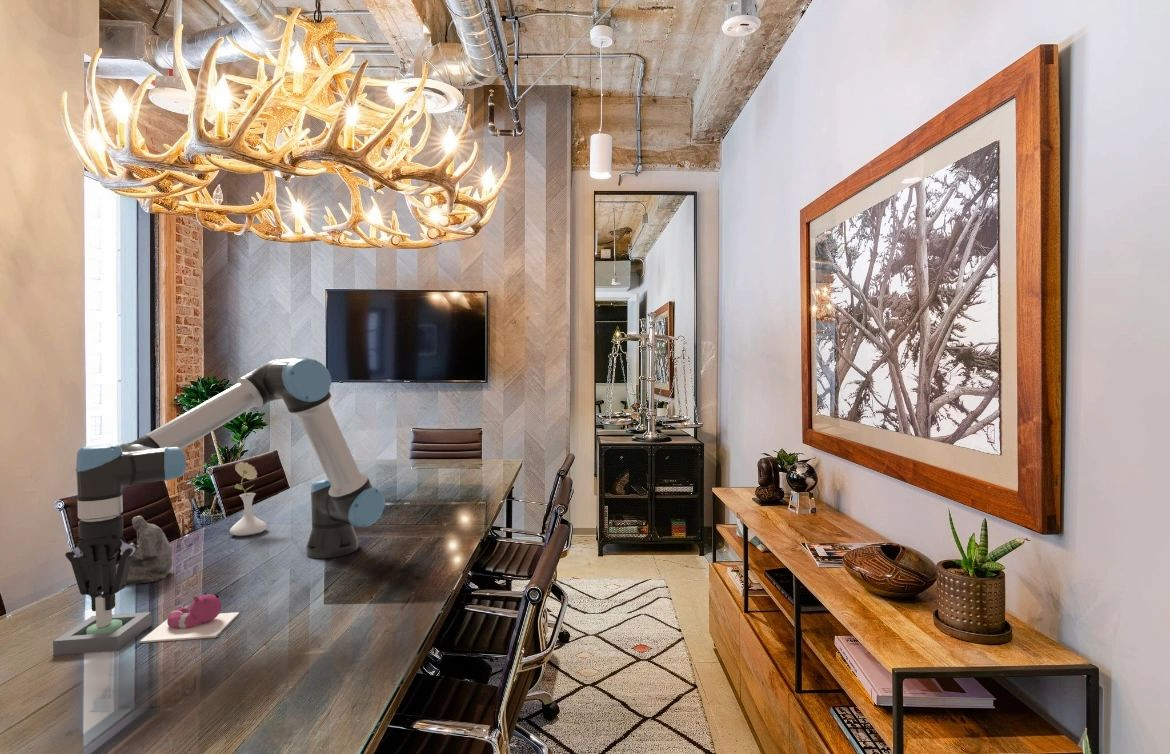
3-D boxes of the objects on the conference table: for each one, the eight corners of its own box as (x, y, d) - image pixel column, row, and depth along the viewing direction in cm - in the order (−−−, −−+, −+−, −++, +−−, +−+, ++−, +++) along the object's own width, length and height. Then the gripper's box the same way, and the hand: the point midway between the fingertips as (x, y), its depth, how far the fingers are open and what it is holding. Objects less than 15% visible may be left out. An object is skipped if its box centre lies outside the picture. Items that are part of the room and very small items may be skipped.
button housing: (151, 624, 134) (150, 612, 134) (118, 650, 123) (117, 636, 122) (92, 629, 133) (92, 615, 132) (53, 655, 121) (52, 641, 121)
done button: (128, 631, 131) (128, 618, 131) (111, 644, 125) (110, 630, 125) (98, 633, 130) (98, 620, 130) (79, 647, 124) (79, 633, 124)
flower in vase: (273, 531, 207) (272, 461, 206) (240, 540, 197) (238, 466, 196) (253, 526, 214) (252, 458, 213) (220, 534, 204) (218, 463, 203)
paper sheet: (239, 613, 140) (239, 612, 140) (215, 637, 128) (215, 635, 128) (170, 618, 138) (170, 616, 138) (139, 642, 126) (139, 641, 126)
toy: (235, 610, 141) (223, 585, 135) (211, 645, 134) (197, 620, 128) (191, 603, 142) (177, 578, 136) (165, 637, 135) (149, 613, 129)
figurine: (107, 581, 161) (105, 516, 161) (152, 567, 172) (150, 506, 172) (138, 588, 156) (136, 521, 156) (182, 573, 167) (180, 510, 167)
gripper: (144, 511, 131) (147, 615, 132) (79, 513, 129) (82, 619, 130) (123, 520, 124) (126, 630, 125) (54, 523, 122) (57, 635, 123)
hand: (104, 624), depth 127 cm, fingers closed
